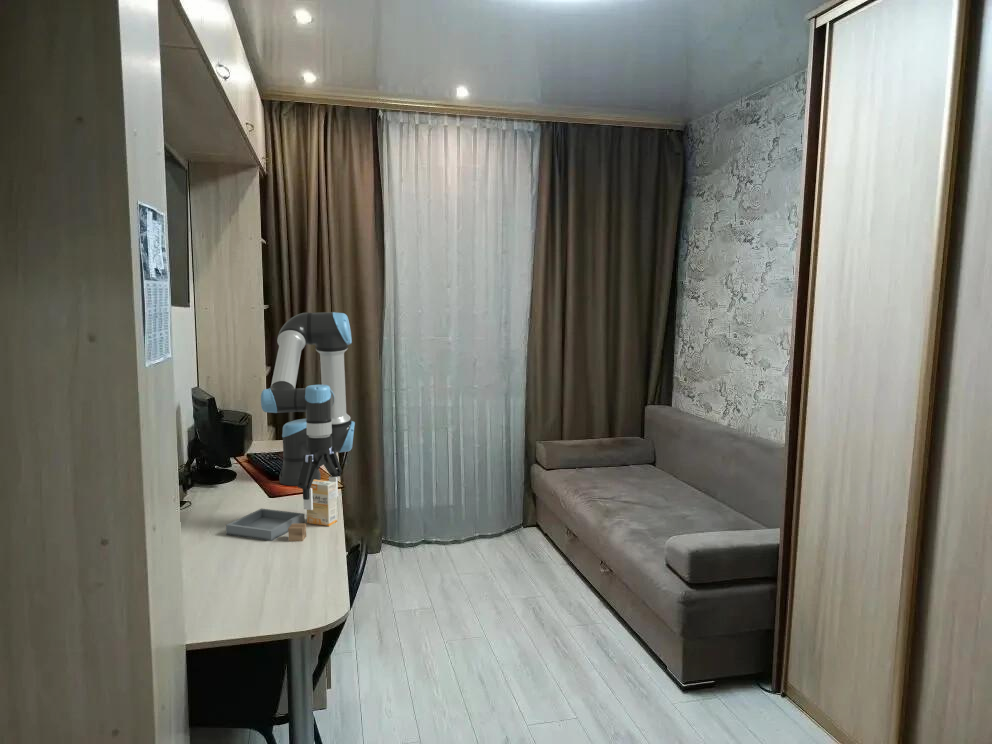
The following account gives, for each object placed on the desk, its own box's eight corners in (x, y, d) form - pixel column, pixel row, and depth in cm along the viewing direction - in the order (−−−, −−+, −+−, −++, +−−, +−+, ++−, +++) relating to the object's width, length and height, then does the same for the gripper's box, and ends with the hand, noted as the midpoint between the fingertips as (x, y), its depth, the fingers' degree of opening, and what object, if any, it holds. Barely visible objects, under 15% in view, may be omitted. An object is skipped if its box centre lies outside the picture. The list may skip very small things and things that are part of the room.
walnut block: (292, 536, 193) (292, 523, 193) (306, 536, 193) (305, 523, 193) (288, 541, 189) (288, 528, 189) (302, 541, 189) (302, 528, 189)
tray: (261, 517, 209) (261, 508, 209) (304, 523, 204) (304, 513, 204) (226, 534, 194) (225, 524, 194) (271, 541, 189) (271, 531, 189)
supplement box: (306, 523, 204) (304, 482, 202) (315, 518, 208) (314, 478, 207) (328, 526, 201) (327, 485, 199) (337, 521, 205) (336, 481, 204)
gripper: (331, 427, 214) (333, 491, 216) (283, 442, 191) (286, 513, 193) (351, 428, 212) (353, 493, 214) (305, 444, 188) (307, 516, 191)
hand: (321, 503), depth 204 cm, fingers open, 13 cm apart
